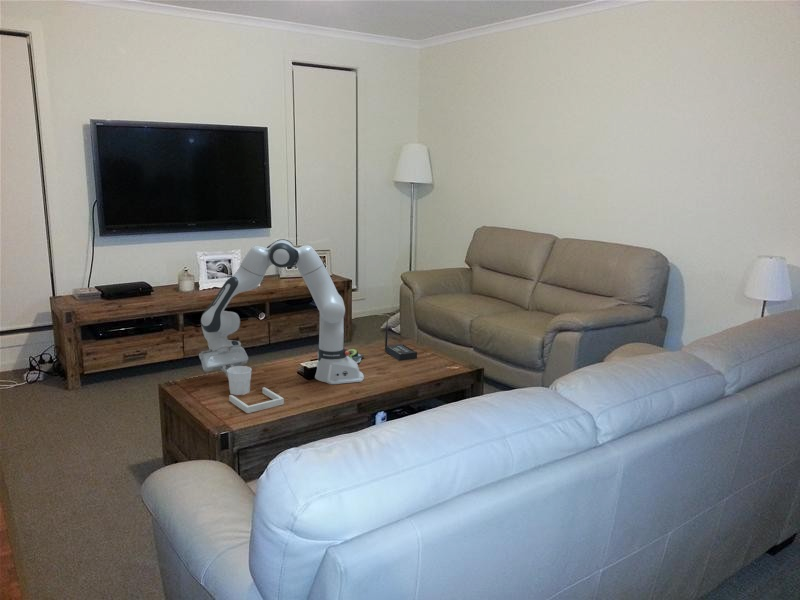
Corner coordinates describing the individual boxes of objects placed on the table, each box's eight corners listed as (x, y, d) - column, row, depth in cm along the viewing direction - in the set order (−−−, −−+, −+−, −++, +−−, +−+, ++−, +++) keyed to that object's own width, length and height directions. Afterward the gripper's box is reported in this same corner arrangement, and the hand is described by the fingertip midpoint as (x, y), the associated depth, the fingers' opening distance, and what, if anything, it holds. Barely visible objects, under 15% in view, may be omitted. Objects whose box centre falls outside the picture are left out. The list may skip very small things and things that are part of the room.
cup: (253, 395, 261) (252, 372, 258) (228, 397, 257) (228, 374, 255) (250, 386, 270) (250, 365, 268) (226, 388, 266) (226, 366, 264)
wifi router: (419, 358, 321) (421, 327, 317) (396, 362, 314) (397, 329, 310) (400, 347, 337) (402, 317, 334) (378, 350, 331) (379, 319, 327)
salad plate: (362, 369, 301) (362, 360, 300) (325, 367, 301) (325, 358, 300) (364, 356, 320) (365, 348, 318) (330, 354, 320) (330, 346, 319)
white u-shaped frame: (229, 401, 253) (229, 395, 253) (265, 392, 264) (265, 387, 263) (247, 413, 242) (247, 407, 242) (283, 404, 253) (283, 398, 252)
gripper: (199, 348, 264) (210, 376, 260) (243, 340, 278) (254, 367, 273) (195, 355, 269) (205, 383, 264) (238, 347, 282) (249, 374, 277)
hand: (230, 375), depth 268 cm, fingers closed
